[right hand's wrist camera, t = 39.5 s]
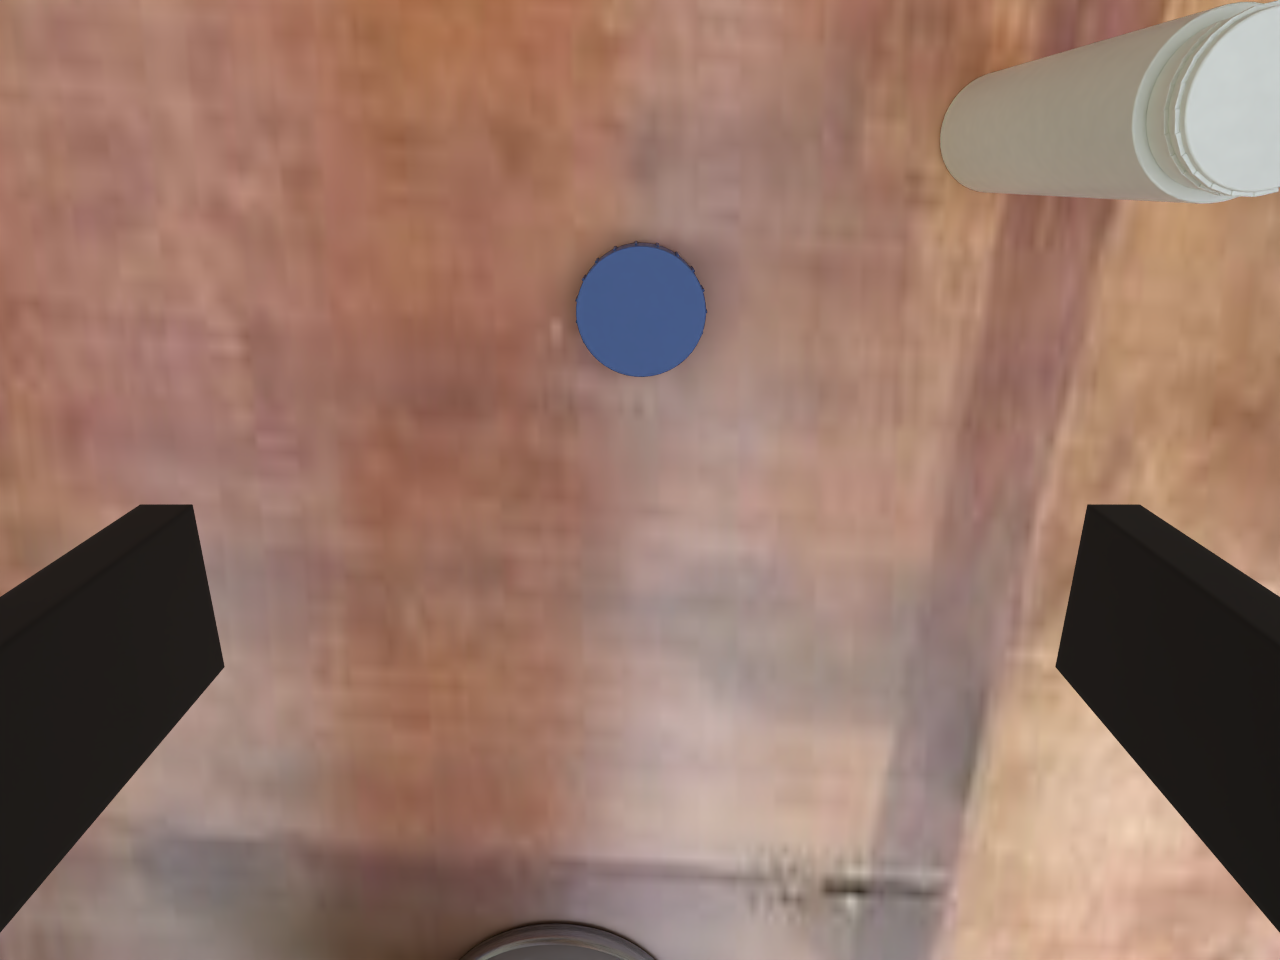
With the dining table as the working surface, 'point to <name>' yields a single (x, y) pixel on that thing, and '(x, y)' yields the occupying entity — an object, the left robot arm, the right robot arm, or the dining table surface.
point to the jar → (1131, 115)
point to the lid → (641, 309)
